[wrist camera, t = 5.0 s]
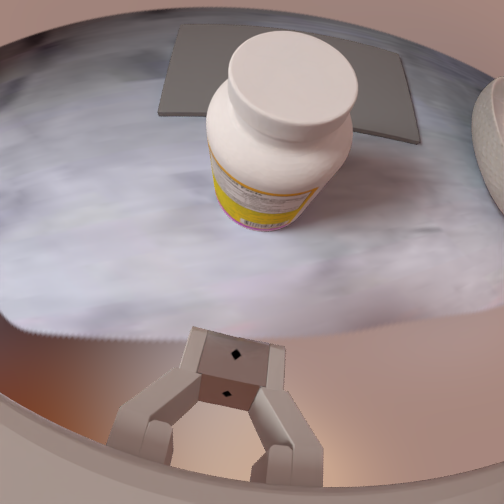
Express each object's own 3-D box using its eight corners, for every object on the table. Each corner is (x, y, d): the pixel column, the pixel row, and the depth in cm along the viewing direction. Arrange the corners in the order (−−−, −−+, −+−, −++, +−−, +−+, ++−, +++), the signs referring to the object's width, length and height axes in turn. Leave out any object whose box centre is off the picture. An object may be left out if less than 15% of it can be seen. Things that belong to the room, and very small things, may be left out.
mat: (158, 116, 22) (157, 112, 22) (181, 28, 24) (180, 24, 23) (416, 144, 24) (419, 141, 23) (396, 57, 25) (398, 53, 25)
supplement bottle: (265, 131, 23) (296, -1, 10) (324, 195, 22) (415, 97, 10) (195, 183, 22) (163, 61, 9) (256, 254, 21) (295, 193, 9)
